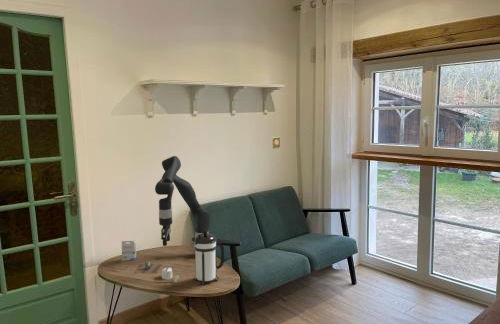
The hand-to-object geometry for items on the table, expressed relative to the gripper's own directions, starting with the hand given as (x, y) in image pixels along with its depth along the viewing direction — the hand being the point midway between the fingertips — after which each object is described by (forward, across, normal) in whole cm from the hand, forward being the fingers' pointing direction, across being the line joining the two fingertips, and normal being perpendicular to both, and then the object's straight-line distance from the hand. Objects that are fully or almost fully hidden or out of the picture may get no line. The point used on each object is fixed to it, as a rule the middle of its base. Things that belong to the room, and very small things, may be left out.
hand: (166, 243), depth 219 cm
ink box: (+22, -30, -32) cm, 49 cm away
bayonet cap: (+22, 0, 0) cm, 22 cm away
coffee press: (+22, 0, +24) cm, 33 cm away
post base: (+22, -13, -15) cm, 30 cm away
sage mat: (+22, 0, 0) cm, 22 cm away
